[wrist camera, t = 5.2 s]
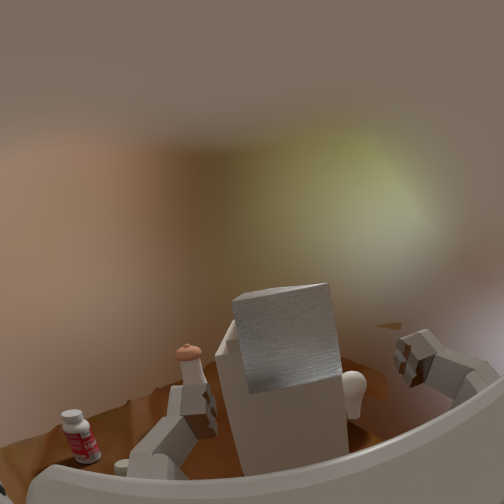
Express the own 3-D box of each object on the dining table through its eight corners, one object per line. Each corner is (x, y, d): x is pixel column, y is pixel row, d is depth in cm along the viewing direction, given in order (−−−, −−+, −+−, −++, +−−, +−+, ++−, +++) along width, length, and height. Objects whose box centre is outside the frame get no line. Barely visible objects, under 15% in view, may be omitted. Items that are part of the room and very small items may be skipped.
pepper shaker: (208, 415, 63) (192, 346, 65) (184, 414, 64) (167, 347, 67) (219, 405, 70) (204, 340, 72) (195, 404, 71) (181, 342, 74)
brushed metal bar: (342, 374, 11) (328, 283, 11) (249, 394, 11) (231, 301, 11) (277, 316, 39) (271, 288, 39) (248, 321, 38) (243, 293, 39)
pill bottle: (95, 466, 36) (76, 419, 37) (71, 462, 35) (52, 416, 37) (106, 452, 42) (89, 408, 44) (83, 450, 41) (66, 407, 43)
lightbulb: (371, 422, 44) (368, 373, 45) (341, 429, 44) (336, 380, 46) (365, 409, 50) (361, 364, 51) (337, 416, 50) (332, 370, 52)
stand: (350, 537, 17) (329, 292, 20) (269, 555, 16) (206, 315, 20) (308, 441, 43) (284, 291, 47) (260, 451, 43) (230, 301, 46)
